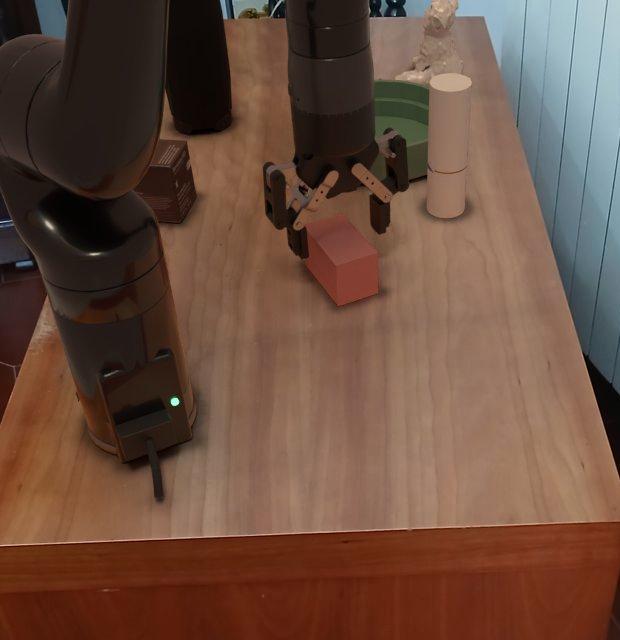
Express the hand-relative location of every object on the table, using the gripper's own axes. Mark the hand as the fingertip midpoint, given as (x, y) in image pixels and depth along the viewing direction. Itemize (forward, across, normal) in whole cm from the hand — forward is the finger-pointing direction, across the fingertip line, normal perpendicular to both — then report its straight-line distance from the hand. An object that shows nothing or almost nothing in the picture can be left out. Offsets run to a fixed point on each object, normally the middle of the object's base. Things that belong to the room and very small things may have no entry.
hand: (340, 242), depth 92 cm
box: (+4, -12, +22) cm, 25 cm away
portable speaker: (+5, -1, +40) cm, 40 cm away
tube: (+5, +16, +6) cm, 18 cm away
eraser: (+4, 0, 0) cm, 4 cm away
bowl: (+5, +16, +22) cm, 27 cm away
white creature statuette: (+5, +31, +34) cm, 47 cm away
